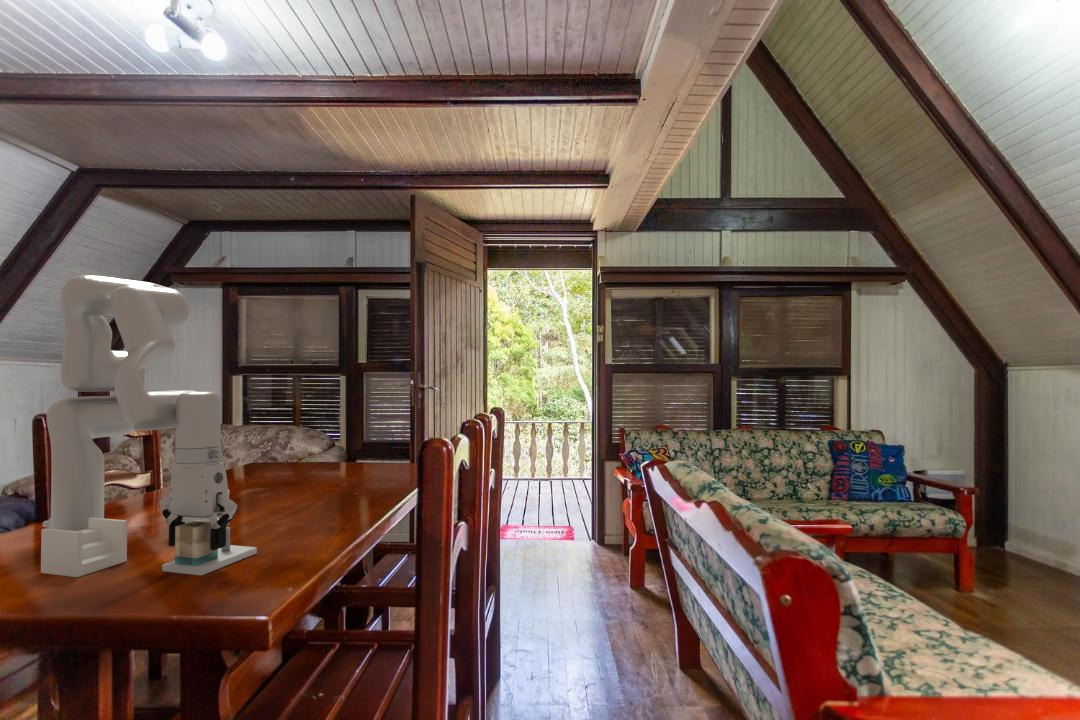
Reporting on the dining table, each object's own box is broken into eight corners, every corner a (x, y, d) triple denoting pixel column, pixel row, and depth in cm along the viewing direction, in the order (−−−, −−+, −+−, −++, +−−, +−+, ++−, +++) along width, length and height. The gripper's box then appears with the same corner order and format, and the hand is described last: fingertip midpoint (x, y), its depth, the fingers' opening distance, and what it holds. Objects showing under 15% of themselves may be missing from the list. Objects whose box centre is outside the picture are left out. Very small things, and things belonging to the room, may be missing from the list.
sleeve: (196, 556, 118) (197, 520, 118) (217, 558, 117) (218, 521, 117) (175, 564, 113) (175, 526, 113) (196, 566, 112) (196, 528, 112)
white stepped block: (40, 572, 112) (41, 529, 112) (91, 557, 121) (92, 517, 121) (77, 577, 109) (77, 532, 110) (126, 561, 119) (127, 520, 119)
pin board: (162, 571, 113) (162, 540, 113) (220, 549, 126) (221, 522, 126) (201, 575, 110) (201, 544, 110) (256, 553, 124) (257, 525, 124)
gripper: (250, 455, 117) (249, 544, 116) (178, 452, 121) (177, 537, 121) (219, 460, 109) (218, 555, 109) (145, 457, 114) (144, 548, 114)
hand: (197, 546), depth 115 cm, fingers open, 9 cm apart
